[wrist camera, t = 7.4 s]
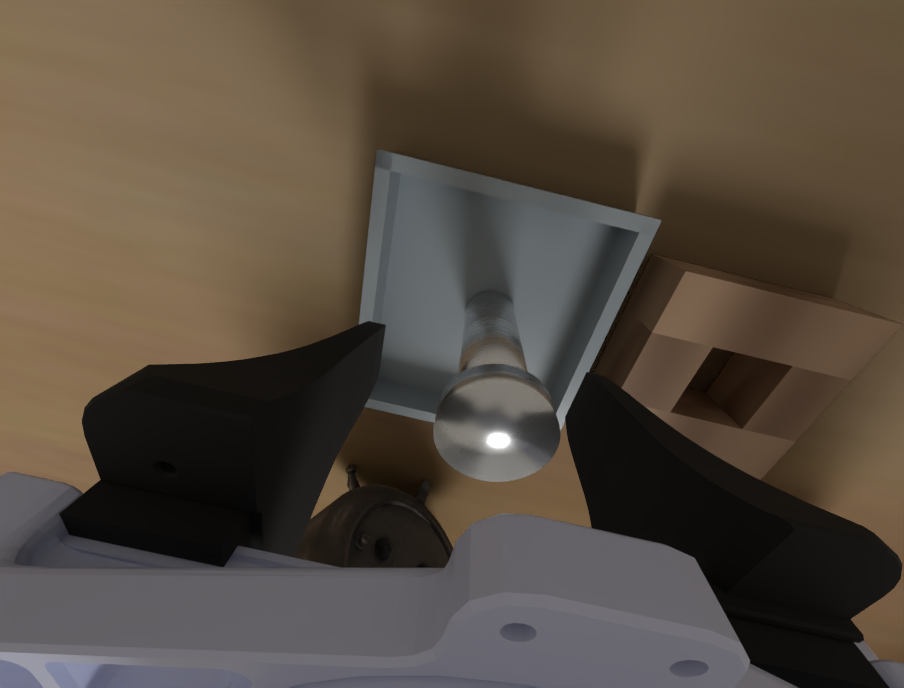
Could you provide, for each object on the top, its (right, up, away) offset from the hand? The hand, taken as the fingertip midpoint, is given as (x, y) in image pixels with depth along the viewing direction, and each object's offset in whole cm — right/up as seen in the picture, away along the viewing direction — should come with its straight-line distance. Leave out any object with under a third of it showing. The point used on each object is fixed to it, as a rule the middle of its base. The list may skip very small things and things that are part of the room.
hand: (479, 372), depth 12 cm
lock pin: (+1, +3, +5) cm, 6 cm away
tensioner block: (+12, 0, +6) cm, 13 cm away
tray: (0, +3, +6) cm, 6 cm away
